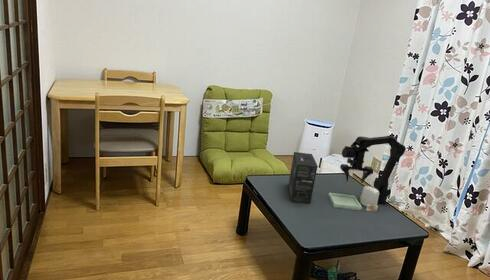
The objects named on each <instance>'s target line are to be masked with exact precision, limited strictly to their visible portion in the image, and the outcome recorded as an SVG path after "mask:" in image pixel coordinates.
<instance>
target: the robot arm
mask: <svg viewBox="0 0 490 280" xmlns="http://www.w3.org/2000/svg"><path fill="white" fill-rule="evenodd" d="M378 145H389V146H390V150H389V154H390V155H389V158H388V159H387V162H386V164H385V166H384V168H383V170H382V173H381V175H380V176H379V177H375V179H374V181H373V186H372V187H373V188H375V189H377V190H378V191H379V197H378V202H377V205H378V204H379V205H387V203H386V202H387V198H388V197H389V196H390V195H391V192H390V191H389V190H388V189H389V179H390V177H391V175H392V173H393V170H394V169H395V167H396V165H397V162H398V160H399V159H400V158H401V157H402V156H404V154H405V152H406V150H407V147H406V146H405V145H404V144H402V143H400V142H399V141H398V140H397V139H396V138H395V137H394V136H392V135H386V136H385V135H384V136H375V137H374V136H373V137H367V136H358V137H356V139H355V140H354V141H353V142H352V144H351V145H350V146H347V145H345V146H344V148H343V149H342V150H341V156H342V158H346V159H347V160H346V163H347V164H344V163H342V164H340V167H339V168H340V170H341V172H343V173H344V175H345V180H346V181H345V182H349V174H350V171H358V172H359V171H360V172H362V176H361V181H360V183H361V184H363V183H364V181H366V179H367V178H368V177H369V176H372V175H373V174H374V169H373V167H371V166H367V165H366V166H364V167H363V164H364V163H365V161H364V160H365V154H366V152H370V151H369V148H371V147H372V146H378ZM348 164H349V165H348Z"/></svg>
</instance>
